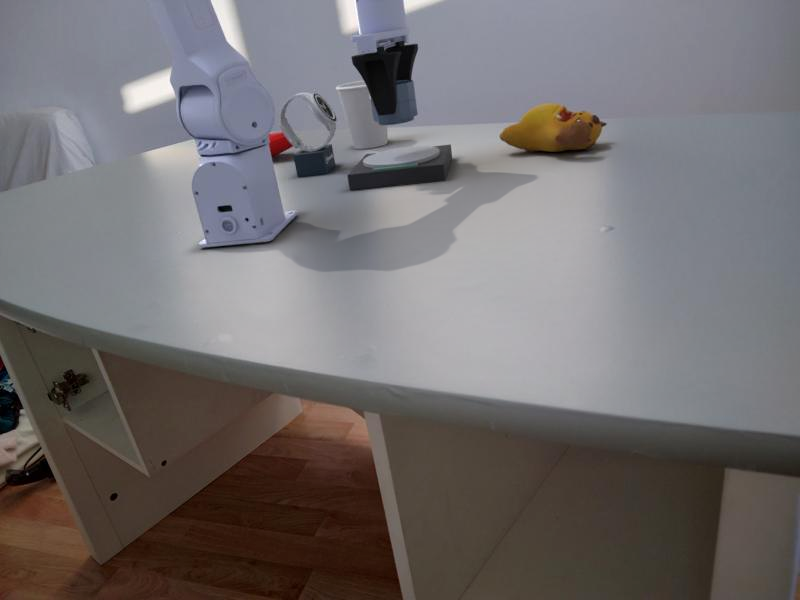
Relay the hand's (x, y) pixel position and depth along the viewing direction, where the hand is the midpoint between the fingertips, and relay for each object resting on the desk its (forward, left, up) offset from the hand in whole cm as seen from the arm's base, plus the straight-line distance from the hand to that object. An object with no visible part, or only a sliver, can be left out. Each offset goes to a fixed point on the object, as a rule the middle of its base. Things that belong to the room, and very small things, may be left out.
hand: (394, 110), depth 80 cm
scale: (+1, 0, -8) cm, 8 cm away
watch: (+9, +14, -8) cm, 19 cm away
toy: (+5, -20, -8) cm, 22 cm away
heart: (+23, +27, -8) cm, 36 cm away
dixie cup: (+25, +9, -8) cm, 28 cm away
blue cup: (0, 0, -1) cm, 1 cm away
